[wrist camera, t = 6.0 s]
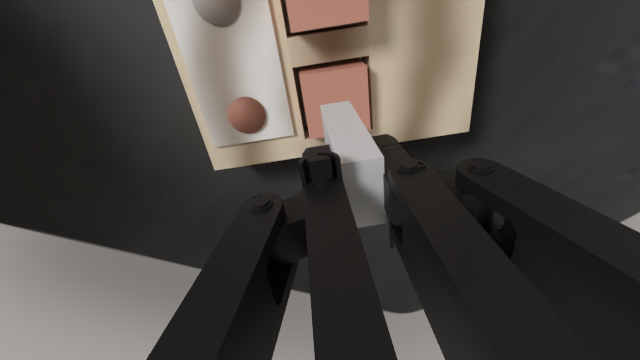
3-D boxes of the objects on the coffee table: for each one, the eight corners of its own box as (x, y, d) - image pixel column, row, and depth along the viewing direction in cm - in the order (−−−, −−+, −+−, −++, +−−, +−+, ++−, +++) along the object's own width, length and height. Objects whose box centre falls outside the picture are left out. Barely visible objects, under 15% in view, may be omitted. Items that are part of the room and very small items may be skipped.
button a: (308, 122, 24) (309, 139, 21) (299, 66, 22) (299, 76, 19) (361, 114, 24) (370, 130, 21) (357, 57, 22) (367, 65, 19)
